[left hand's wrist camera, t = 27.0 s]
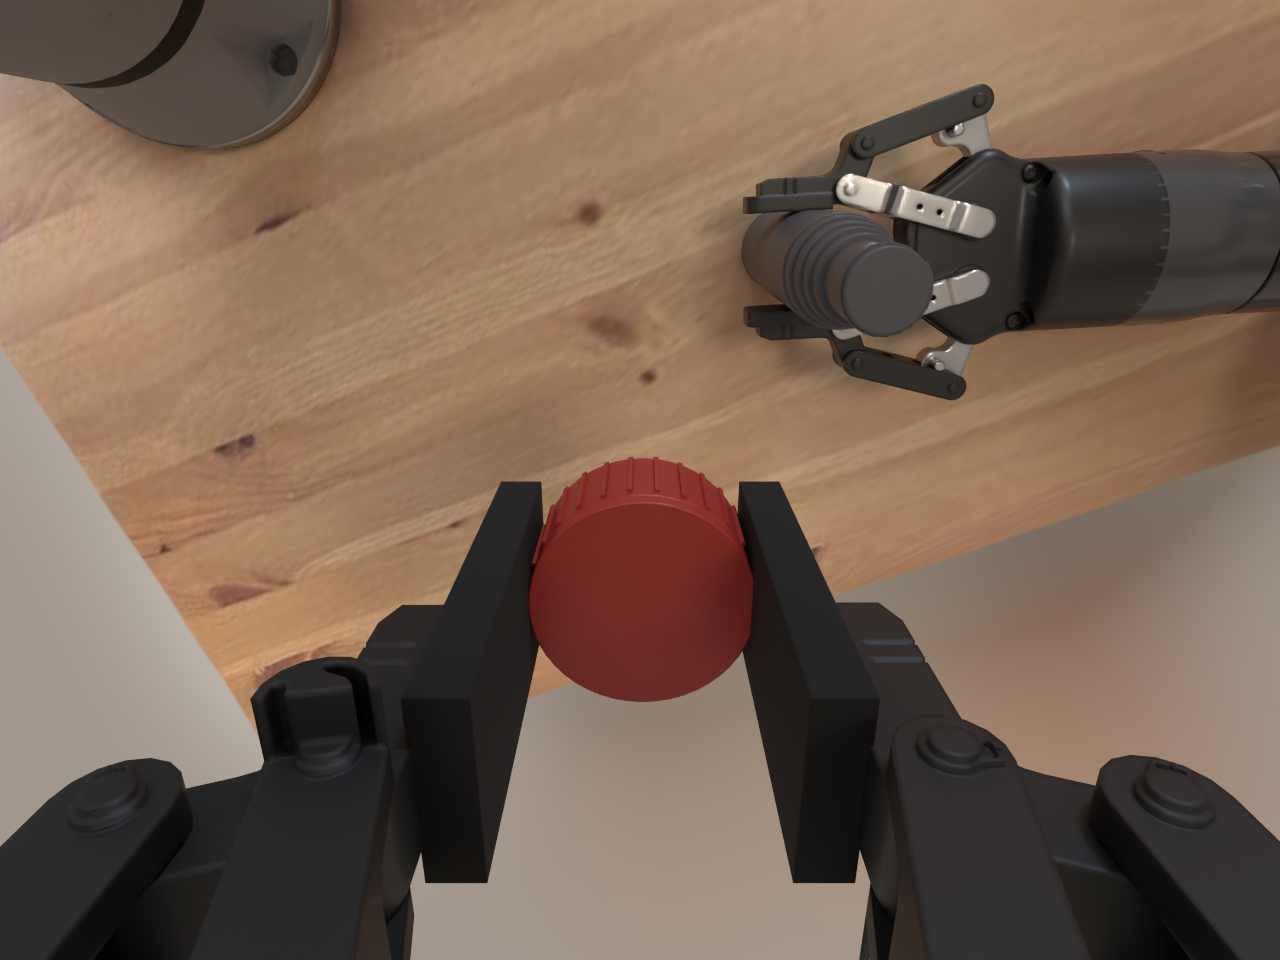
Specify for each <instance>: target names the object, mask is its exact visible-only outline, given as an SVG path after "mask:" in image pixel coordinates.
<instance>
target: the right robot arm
mask: <svg viewBox="0 0 1280 960" xmlns="http://www.w3.org/2000/svg"><path fill="white" fill-rule="evenodd" d="M993 102H994V93H993V91H992V89H991V88H990V87H989V86H987V85H984V84H979V85H975V86H972V87H970V88H967V89H964V90H961V91H958V92H955V93H952V94H949V95H947V96H944V97H942V98H939V99H936V100H934V101H931V102H929V103H926V104H923V105H921V106H918V107H916V108H913V109H910V110H908V111H905V112H903V113H900V114H897V115H895V116H892V117H890V118H887V119H884V120H882V121H879V122H877V123H874V124H871V125H869V126H866V127H864V128H861V129H858V130H856V131H853V132H851V133H848V134H847V135H845V136H844V137H843V139H842V141H841V143H840V152H839V155H838V158H837V161H836V163H835V166H834V167H833V169H832V170H831V171H830V172H829V173H827V174H826V175H823V176H812V177H795V178H778V179H767V180H765V181H763V182H761V183H759V184H757V185H756V197H743V213H745V214H756V213H774V212H791V211H807V210H826V209H833V204H839V205H842V206H846V207H850V208H854V209H857V210H861V211H865V212H868V213H871V214H874V215H878V216H881V217H885V218H889V219H893V220H894V224H893V239H894V242H898V243H901V244H904V245H907V246H909V247H910V248H912V249H913V250H915V251H916V252H917V253H918V254H919V255H920V257H921V258H922V259H923V260H924V262H928V263H929V265H930V268H931V270H932V272H933V281H934V287H933V295H932V298H931V301H930V304H929V306H928V309H927V310H926V311H925V313H924V314H923V316H922V317H921V318H922V319H924V320H925V321H926V322H928V323H929V324H931V325H932V326H933V327H935V328H936V329H938V330H939V331H941V332H942V333H943V334H945V335H946V336H948V338H947V340H946V342H945V343H944V344H943V345H941V346H939V347H934V348H933V347H927V348H924V349H922V350H921V351H920V352H919V353H918V354H917V356H916V359H914V358H910V357H906V356H902V355H898V354H894V353H890V352H886V351H882V350H878V349H873V348H869V347H865V346H864V345H863V342H862V339H861V336H860V335H861V334H863V333H862V332H860V331H858V330H857V329H855V328H853V329H846V330H832V329H827V328H823V327H819V326H816V325H813V324H811V323H809V322H807V321H805V320H804V319H803V318H801V317H800V316H799V315H797V314H796V313H795V312H794V311H792V310H791V309H790V308H788V307H787V306H786V305H785V304H778V305H761V306H747V307H744V323H745V324H746V326H747V327H756V332H757V333H758V335H759V336H760V337H763V338H766V339H768V340H783V339H784V340H786V339H804V338H827V339H828V340H829V342H830V345H831V347H832V350H833V355H832V356H833V360H834V362H835V363H836V364H837V365H839V366H840V367H842V368H843V369H844V370H845V372H847V373H848V374H849V375H851V376H853V377H858V378H862V379H866V380H870V381H874V382H878V383H882V384H886V385H890V386H894V387H898V388H902V389H907V390H911V391H915V392H919V393H923V394H927V395H931V396H935V397H939V398H943V399H947V400H956V399H958V398H960V397H961V396H962V395H963V394H964V392H965V390H966V382H965V380H964V379H963V378H962V377H961V375H962V372H963V370H964V367H965V364H966V362H967V359H968V357H969V354H970V352H971V349H972V347H973V345H975V344H979V343H982V342H984V341H986V340H987V339H989V338H991V337H993V336H995V335H997V334H1000V333H1004V332H1012V331H1029V330H1047V329H1065V328H1083V327H1104V326H1122V325H1140V324H1159V323H1170V322H1176V321H1182V320H1188V319H1193V318H1198V317H1203V316H1211V315H1219V314H1236V313H1254V312H1272V311H1275V312H1277V311H1280V150H1275V151H1259V152H1219V151H1210V150H1167V151H1148V150H1142V151H1136V152H1132V153H1116V154H1100V155H1083V156H1066V157H1050V158H1033V159H1018V158H1015V157H1012V156H1010V155H1008V154H1006V153H1005V152H1003V151H1001V150H998V149H992V145H991V140H990V134H989V129H988V124H987V118H986V113H987V112H988V111H989V110H990V109H991V107H992V105H993ZM929 135H931V137H932V140H933V142H934V143H935V144H936V145H937V146H939V147H948V146H955V147H957V148H959V149H960V150H961V152H962V154H963V157H962V158H961V159H959V160H958V161H957V162H956V163H954V164H953V165H952V166H951V167H949V168H948V169H947V170H945V171H944V172H943V173H942V174H940V175H939V176H938V177H937V178H935V179H934V180H933V181H931V182H930V183H929V184H928V185H926V186H925V187H924V188H923V189H921V190H920V191H918V190H915V189H911V188H907V187H903V186H898V185H893V184H888V183H885V182H881V181H877V180H874V179H870V178H866V177H867V174H868V172H869V169H870V166H871V164H872V161H873V158H874V156H876V155H879V154H881V153H884V152H887V151H889V150H892V149H895V148H897V147H900V146H903V145H905V144H908V143H910V142H913V141H916V140H918V139H921V138H924V137H926V136H929Z"/></svg>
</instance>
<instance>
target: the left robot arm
mask: <svg viewBox="0 0 1280 960" xmlns="http://www.w3.org/2000/svg"><path fill="white" fill-rule="evenodd" d="M340 16H341V0H0V73H3V74H8V75H14V76H19V77H24V78H30V79H35V80H40V81H46V82H53V83H55V84H57V85H58V86H60V87H61V88H63V89H65V90H66V91H68V92H69V93H70V94H71V95H72V96H73V97H75V98H76V99H78V100H79V101H80V102H82V103H83V104H84V105H86V106H87V107H88V108H90V109H91V110H92V111H94V112H95V113H97V114H98V115H100V116H101V117H103V118H105V119H106V120H108V121H110V122H112V123H114V124H116V125H117V126H119V127H121V128H124V129H126V130H128V131H130V132H132V133H135V134H137V135H140V136H142V137H145V138H147V139H151V140H154V141H157V142H160V143H165V144H170V145H175V146H182V147H191V148H201V149H225V148H234V147H239V146H243V145H247V144H251V143H254V142H256V141H259V140H262V139H264V138H266V137H268V136H270V135H272V134H274V133H276V132H277V131H279V130H280V129H282V128H283V127H285V126H286V125H287V124H289V123H290V122H291V121H292V120H293V119H294V118H296V117H297V116H298V115H299V114H300V113H301V112H302V111H303V109H304V108H305V107H306V106H307V105H308V104H309V102H310V101H311V100H312V98H313V97H314V96H315V94H316V93H317V91H318V89H319V87H320V86H321V84H322V82H323V80H324V78H325V76H326V74H327V72H328V69H329V67H330V64H331V61H332V58H333V55H334V52H335V48H336V43H337V39H338V34H339V26H340ZM738 518H739V522H740V525H741V529H742V532H743V536H744V539H745V543H746V546H745V548H746V551H747V555H748V558H749V562H750V565H751V569H752V572H753V578H754V579H753V597H752V613H751V630H750V638H749V640H748V642H747V644H746V646H745V647H744V649H743V655H744V660H745V664H746V669H747V673H748V678H749V683H750V687H751V692H752V696H753V701H754V705H755V710H756V715H757V719H758V724H759V728H760V733H761V737H762V742H763V747H764V751H765V756H766V760H767V765H768V769H769V774H770V779H771V783H772V788H773V792H774V797H775V802H776V806H777V811H778V815H779V820H780V825H781V829H782V834H783V838H784V843H785V847H786V852H787V857H788V861H789V866H790V870H791V875H792V880H793V883H855V879H856V872H857V865H858V857H859V850H860V851H861V854H862V857H863V860H864V863H865V866H866V870H867V873H868V876H869V879H870V882H871V884H870V891H869V898H868V904H867V911H866V918H865V925H864V932H863V938H862V945H861V952H860V959H859V960H869V959H870V960H1280V841H1279V840H1278V839H1277V838H1276V837H1275V836H1274V835H1273V834H1272V833H1271V832H1270V831H1268V830H1267V829H1266V828H1265V827H1264V826H1263V825H1262V824H1261V823H1260V822H1259V821H1258V820H1257V819H1256V818H1255V817H1254V816H1253V815H1252V814H1251V813H1250V812H1249V811H1248V810H1247V809H1246V808H1245V807H1244V806H1243V805H1242V804H1241V803H1239V802H1238V801H1237V800H1236V799H1235V798H1234V797H1233V796H1232V795H1230V794H1229V793H1228V792H1227V791H1225V790H1224V789H1223V788H1221V787H1220V786H1219V785H1217V784H1216V783H1215V782H1213V781H1212V780H1211V779H1209V778H1207V777H1205V776H1203V775H1201V774H1199V773H1197V772H1195V771H1193V770H1191V769H1189V768H1187V767H1185V766H1182V765H1179V764H1176V763H1173V762H1169V761H1166V760H1163V759H1160V758H1156V757H1146V756H1136V755H1128V756H1123V757H1118V758H1113V759H1111V760H1110V761H1108V762H1107V763H1106V764H1105V765H1104V766H1103V767H1102V768H1101V769H1100V771H1099V775H1098V779H1097V782H1096V786H1094V785H1090V784H1085V783H1081V782H1076V781H1072V780H1068V779H1063V778H1058V777H1054V776H1049V775H1045V774H1041V773H1038V772H1035V771H1031V770H1028V769H1024V768H1022V767H1020V766H1018V765H1017V762H1016V760H1015V758H1014V757H1013V755H1012V754H1011V752H1010V751H1009V749H1008V748H1007V746H1006V745H1005V744H1004V743H1003V742H1002V741H1000V740H999V739H998V738H997V737H995V736H994V735H993V734H992V733H990V732H989V731H988V730H986V729H984V728H981V727H979V726H977V725H975V724H973V723H971V722H968V721H966V720H963V719H961V717H960V716H959V714H958V712H957V711H956V709H955V707H954V706H953V704H952V702H951V701H950V699H949V697H948V696H947V694H946V692H945V691H944V689H943V687H942V686H941V684H940V682H939V681H938V679H937V677H936V676H935V674H934V672H933V671H932V669H931V667H930V666H929V664H928V663H925V657H924V656H923V654H922V652H921V651H920V649H919V647H918V646H917V645H915V641H914V639H913V637H912V636H911V634H910V632H909V631H908V629H907V627H906V626H905V624H904V622H903V621H902V620H901V619H900V618H898V617H897V616H896V615H894V614H893V613H892V612H890V611H889V610H888V609H886V608H885V607H884V606H882V605H881V604H880V603H835V601H834V598H833V596H832V594H831V592H830V590H829V588H828V585H827V583H826V581H825V579H824V577H823V575H822V573H821V570H820V568H819V566H818V564H817V562H816V560H815V558H814V555H813V553H812V551H811V549H810V547H809V545H808V542H807V540H806V538H805V536H804V534H803V532H802V530H801V527H800V525H799V523H798V521H797V519H796V517H795V515H794V512H793V510H792V508H791V506H790V504H789V502H788V499H787V497H786V495H785V493H784V491H783V489H782V487H781V484H780V482H739V498H738ZM542 526H543V508H542V488H541V482H501V483H500V486H499V488H498V490H497V492H496V494H495V496H494V498H493V501H492V503H491V505H490V507H489V509H488V511H487V513H486V516H485V518H484V520H483V522H482V524H481V526H480V529H479V531H478V533H477V535H476V537H475V539H474V541H473V544H472V546H471V548H470V550H469V552H468V554H467V556H466V559H465V561H464V563H463V565H462V567H461V569H460V572H459V574H458V576H457V578H456V580H455V582H454V584H453V587H452V589H451V591H450V593H449V595H448V597H447V599H446V602H445V604H444V605H402V606H400V607H399V608H398V609H396V610H395V611H394V612H392V613H391V614H390V615H388V616H387V617H386V618H384V619H383V620H382V621H380V622H379V623H378V624H377V626H376V628H375V629H374V631H373V633H372V635H371V636H370V638H369V640H368V641H367V643H366V648H363V650H362V651H361V653H360V655H359V656H358V658H357V659H356V658H352V657H324V658H319V659H314V660H310V661H305V662H302V663H299V664H297V665H294V666H292V667H289V668H287V669H285V670H282V671H280V672H279V673H277V674H276V675H274V676H273V677H271V678H270V679H268V680H267V681H266V682H264V683H263V684H261V686H260V687H259V688H258V690H257V691H256V692H255V694H254V695H253V696H252V698H251V704H252V708H253V713H254V717H255V722H256V726H257V731H258V735H259V740H260V744H261V749H262V753H263V758H264V763H263V766H262V769H261V770H259V771H257V772H253V773H250V774H247V775H243V776H240V777H236V778H231V779H227V780H223V781H218V782H214V783H209V784H205V785H200V786H196V787H191V788H187V789H186V788H185V784H184V780H183V777H182V773H181V771H180V770H178V769H177V768H176V767H175V766H174V765H173V764H172V763H171V762H167V761H162V760H158V759H153V758H147V759H136V760H126V761H123V762H119V763H116V764H113V765H109V766H106V767H103V768H100V769H97V770H95V771H93V772H91V773H89V774H87V775H85V776H83V777H81V778H79V779H77V780H75V781H73V782H71V783H70V784H69V785H67V786H66V787H65V788H63V789H62V790H61V791H59V792H58V793H57V794H56V795H54V796H53V797H52V798H50V799H49V800H48V801H47V802H46V803H45V804H44V805H43V806H42V807H41V808H40V809H39V810H38V811H37V812H35V813H34V814H33V815H32V816H31V817H30V818H29V819H28V820H27V821H26V822H25V823H24V824H23V825H22V826H21V827H20V828H19V829H18V830H17V831H16V832H15V833H14V834H13V835H12V836H11V837H10V838H9V839H8V840H7V841H6V842H5V843H4V844H3V845H2V846H1V847H0V960H410V955H411V945H412V934H413V923H414V911H413V904H412V897H411V891H410V884H411V881H412V878H413V875H414V872H415V869H416V866H417V863H418V860H419V857H420V854H422V861H423V869H424V876H425V883H487V882H488V877H489V873H490V868H491V863H492V859H493V854H494V850H495V845H496V841H497V836H498V831H499V827H500V822H501V817H502V813H503V809H504V804H505V799H506V795H507V790H508V786H509V781H510V776H511V772H512V767H513V763H514V758H515V754H516V749H517V744H518V740H519V735H520V731H521V726H522V721H523V717H524V712H525V708H526V703H527V699H528V694H529V689H530V685H531V680H532V676H533V671H534V666H535V662H536V657H537V653H538V648H539V643H538V640H537V638H536V636H535V634H534V631H533V628H532V624H531V621H530V615H529V597H528V596H529V587H530V582H531V577H532V574H533V571H534V567H531V564H532V561H533V557H534V554H535V550H536V547H537V544H538V540H539V537H540V533H541V530H542Z"/></svg>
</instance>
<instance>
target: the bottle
mask: <svg viewBox="0 0 1280 960" xmlns="http://www.w3.org/2000/svg"><path fill="white" fill-rule="evenodd" d="M742 259H743V263H744V266H745V268H746V270H747V272H748V274H749V275H750V276H751V278H752V279H753V280H754V281H755V282H757V283H758V284H759V285H760V286H762V287H763V288H764V289H765V290H767V291H768V292H769V293H771V294H772V295H773V296H774V297H776V298H777V299H778V300H780V301H781V302H782V303H783V304H785V305H786V306H787V307H788V308H790V309H791V310H792V311H794V312H795V313H796V314H797V315H799V316H800V317H801V318H803V319H804V320H805V321H807V322H809V323H811V324H813V325H816V326H819V327H823V328H827V329H832V330H846V329H853V328H855V329H857V330H858V331H860V332H862V333H863V334H867V335H870V336H874V337H888V336H892V335H896V334H899V333H901V332H903V331H905V330H907V329H909V328H911V327H912V326H913V325H914V324H915V323H916V322H917V321H918V320H920V318H921V317H922V316H923V314H924V313H925V311H926V310H927V309H928V306H929V304H930V301H931V298H932V295H933V287H934V281H933V272H932V270H931V268H930V265H929V263H928V262H924V260H923V259H922V258H921V257H920V255H919V254H918V253H917V252H916V251H915V250H913V249H912V248H910V247H909V246H907V245H904V244H901V243H898V242H894V241H893V239H892V238H891V237H890V235H889V234H888V233H887V232H886V231H885V229H884V228H882V227H881V226H880V225H879V224H877V223H876V222H874V221H872V220H870V219H868V218H866V217H864V216H862V215H859V214H855V213H848V212H836V211H823V210H807V211H791V212H774V213H763V214H762V215H760V216H759V217H758V218H757V219H755V221H754V222H753V223H752V224H751V225H750V227H749V228H748V230H747V232H746V234H745V237H744V240H743V244H742Z"/></svg>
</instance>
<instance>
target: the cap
mask: <svg viewBox="0 0 1280 960" xmlns="http://www.w3.org/2000/svg"><path fill="white" fill-rule="evenodd" d="M745 546H746V543H745V539H744V536H743V532H742V529H741V525H740V522H739V518H738V515H737V511H736V508H735V506H734V505H733V506H731V505H730V504H729V502H728V501H727V499H726V498H725V497H724V494H723V491H722V489H721V488H720V487H719V488H718V489H717V488H716V487H715V486H714V485H713V484H712V483H711V482H709V481H708V480H707V479H706V478H705V476H704V474H703V473H700V474H698V473H696V472H695V471H693V470H691V469H688V468H686V467H684V466H683V464H682V463H680V462H678V464H675V463H672V462H669V461H664V460H659V459H658V457H654V459H646V458H641V459H633V457H629V459H628V460H622V461H617V462H613V463H610V464H609V462H606V463H604V466H602V467H599V468H597V469H595V470H593V471H591V472H589V473H588V474H587V472H585V473H583V474H582V477H581V478H580V479H579V480H577V481H576V482H575V483H574V484H573V485H571V486H570V487H566V488H565V489H564V492H563V495H562V496H561V497H560V499H559V500H558V502H557V503H556V505H553V504H552V506H551V507H550V511H549V514H548V518H547V521H546V525H544V524H543V526H542V530H541V533H540V537H539V540H538V544H537V547H536V550H535V554H534V557H533V561H532V564H531V567H534V571H533V574H532V577H531V582H530V587H529V596H528V597H529V615H530V621H531V624H532V628H533V631H534V634H535V636H536V638H537V640H538V643H539V645H540V646H541V648H542V649H543V651H544V653H545V654H546V656H547V657H548V658H549V659H550V661H551V662H552V663H553V664H554V665H555V666H556V667H557V668H558V669H559V670H560V671H561V672H562V673H563V674H564V675H566V676H567V677H568V678H570V679H571V680H572V681H574V682H575V683H577V684H579V685H580V686H582V687H584V688H586V689H588V690H590V691H592V692H595V693H597V694H600V695H603V696H606V697H610V698H613V699H619V700H625V701H635V702H651V701H661V700H667V699H672V698H676V697H680V696H683V695H686V694H688V693H691V692H693V691H696V690H698V689H700V688H701V687H704V686H705V685H707V684H709V683H710V682H712V681H713V680H715V679H716V678H718V677H719V676H720V675H721V674H723V673H724V672H725V671H726V670H727V669H728V668H729V667H730V666H731V665H732V664H733V663H734V661H735V660H736V659H737V658H738V657H739V655H740V654H741V652H742V651H743V649H744V647H745V646H746V644H747V642H748V640H749V638H750V630H751V613H752V597H753V579H754V578H753V572H752V569H751V565H750V562H749V558H748V555H747V551H746V548H745Z"/></svg>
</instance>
